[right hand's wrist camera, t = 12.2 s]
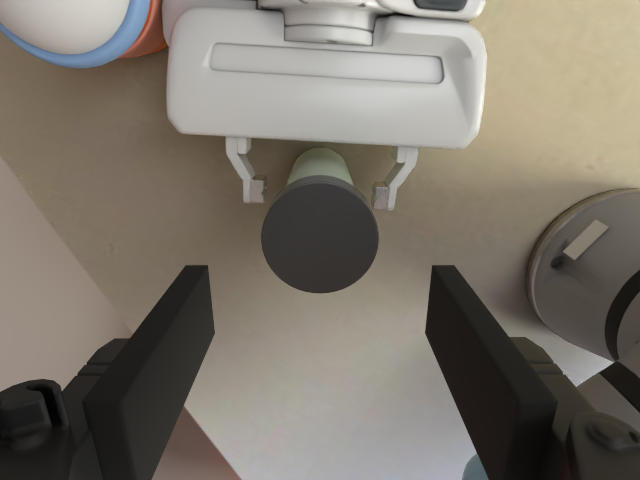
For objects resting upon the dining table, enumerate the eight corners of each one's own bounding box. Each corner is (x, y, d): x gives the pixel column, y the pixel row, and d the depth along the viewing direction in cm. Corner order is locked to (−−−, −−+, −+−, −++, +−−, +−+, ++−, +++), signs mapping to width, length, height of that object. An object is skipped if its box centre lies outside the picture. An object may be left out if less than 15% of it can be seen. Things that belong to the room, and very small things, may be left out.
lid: (381, 180, 21) (387, 190, 19) (364, 281, 23) (369, 298, 21) (270, 168, 21) (264, 177, 19) (263, 271, 23) (257, 287, 21)
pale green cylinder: (352, 150, 34) (376, 195, 20) (344, 206, 36) (361, 286, 21) (294, 144, 34) (274, 184, 20) (289, 200, 36) (268, 277, 21)
